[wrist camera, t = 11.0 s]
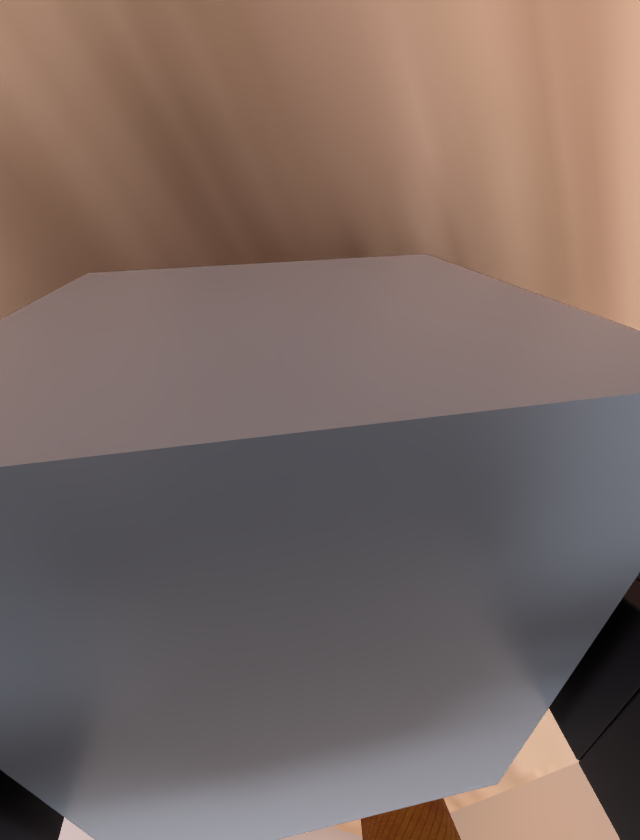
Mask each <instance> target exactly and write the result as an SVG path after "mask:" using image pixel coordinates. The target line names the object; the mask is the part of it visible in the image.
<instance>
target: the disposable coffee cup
mask: <svg viewBox="0 0 640 840" xmlns="http://www.w3.org/2000/svg"><path fill="white" fill-rule="evenodd" d="M361 825H362V836H363V840H461V839H460V836H459V834H458V832H457V830H456V827H455V825H454V822H453V820H452V818H451V816H450V813H449V811H448V808H447V806H446V804H445V801H444V799H443V798H441V799H437V800H433V801H429V802H425V803H421V804H417V805H413V806H409V807H405V808H401V809H397V810H393V811H389V812H385V813H381V814H377V815H374V816H370V817H366V818H362V819H361Z"/></svg>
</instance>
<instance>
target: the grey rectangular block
mask: <svg viewBox="0 0 640 840" xmlns="http://www.w3.org/2000/svg"><path fill="white" fill-rule="evenodd" d="M639 573H640V331H638V330H636V329H633V328H630V327H627V326H625V325H622V324H619V323H616V322H613V321H611V320H608V319H605V318H602V317H600V316H597V315H594V314H591V313H589V312H586V311H583V310H580V309H577V308H575V307H572V306H569V305H566V304H564V303H561V302H558V301H555V300H552V299H550V298H547V297H544V296H541V295H539V294H536V293H533V292H530V291H528V290H525V289H522V288H519V287H516V286H514V285H511V284H508V283H505V282H503V281H500V280H497V279H494V278H492V277H489V276H486V275H483V274H480V273H478V272H475V271H472V270H469V269H467V268H464V267H461V266H458V265H456V264H453V263H450V262H447V261H444V260H442V259H439V258H436V257H433V256H431V255H428V254H415V255H397V256H380V257H362V258H344V259H326V260H309V261H291V262H273V263H255V264H238V265H220V266H202V267H184V268H167V269H149V270H131V271H113V272H95V273H86V274H85V275H83V276H81V277H79V278H77V279H75V280H73V281H71V282H70V283H68V284H66V285H64V286H62V287H60V288H58V289H56V290H55V291H53V292H51V293H49V294H47V295H45V296H43V297H41V298H39V299H38V300H36V301H34V302H32V303H30V304H28V305H26V306H24V307H23V308H21V309H19V310H17V311H15V312H13V313H11V314H9V315H8V316H6V317H4V318H2V319H0V770H2V771H3V772H4V773H6V774H7V775H8V776H10V777H11V778H12V779H14V780H15V781H16V782H18V783H19V784H20V785H22V786H23V787H24V788H26V789H27V790H28V791H30V792H31V793H33V794H34V795H35V796H37V797H38V798H39V799H41V800H42V801H43V802H45V803H46V804H47V805H49V806H50V807H51V808H53V809H54V810H55V811H57V812H58V813H60V814H61V815H62V816H64V817H65V818H66V819H68V820H69V821H70V822H72V823H73V824H74V825H76V826H77V827H79V828H80V829H81V830H83V831H84V832H85V833H87V834H88V835H89V836H91V837H92V838H93V839H95V840H279V839H283V838H286V837H291V836H295V835H299V834H302V833H306V832H310V831H314V830H318V829H322V828H326V827H330V826H334V825H338V824H342V823H346V822H350V821H354V820H358V819H362V818H366V817H370V816H374V815H377V814H381V813H385V812H389V811H393V810H397V809H401V808H405V807H409V806H413V805H417V804H421V803H425V802H429V801H433V800H437V799H441V798H445V797H449V796H452V795H456V794H460V793H464V792H468V791H472V790H476V789H480V788H484V787H488V786H492V785H496V784H498V782H499V781H500V779H501V778H502V777H503V775H504V774H505V772H506V771H507V769H508V768H509V766H510V765H511V763H512V762H513V760H514V759H515V757H516V756H517V754H518V753H519V751H520V750H521V748H522V747H523V745H524V744H525V742H526V741H527V739H528V738H529V736H530V735H531V733H532V732H533V730H534V729H535V727H536V726H537V724H538V723H539V721H540V720H541V719H542V717H543V716H544V714H545V713H546V711H547V710H548V708H549V707H550V705H551V704H552V702H553V701H554V699H555V698H556V696H557V695H558V693H559V692H560V690H561V689H562V687H563V686H564V684H565V683H566V681H567V680H568V678H569V677H570V675H571V674H572V672H573V671H574V669H575V668H576V666H577V665H578V663H579V662H580V660H581V659H582V658H583V656H584V655H585V653H586V652H587V650H588V649H589V647H590V646H591V644H592V643H593V641H594V640H595V638H596V637H597V635H598V634H599V632H600V631H601V629H602V628H603V626H604V625H605V623H606V622H607V620H608V619H609V617H610V616H611V614H612V613H613V611H614V610H615V608H616V607H617V605H618V604H619V602H620V601H621V599H622V598H623V597H624V595H625V594H626V592H627V591H628V589H629V588H630V586H631V585H632V583H633V582H634V580H635V579H636V577H637V576H638V574H639Z"/></svg>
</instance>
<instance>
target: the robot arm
mask: <svg viewBox="0 0 640 840" xmlns="http://www.w3.org/2000/svg"><path fill="white" fill-rule="evenodd" d="M549 709H550V711H551V713H552V714H553V716H554V718H555V720H556V722H557V724H558V725H559V727H560V729H561V731H562V733H563V735H564V736H565V738H566V740H567V742H568V744H569V746H570V747H571V749H572V751H573V753H574V755H575V757H576V758H577V759H578V760H579V764H580V766H581V768H582V770H583V772H584V774H585V775H586V777H587V779H588V781H589V783H590V785H591V786H592V788H593V790H594V792H595V794H596V796H597V797H598V799H599V801H600V803H601V805H602V806H603V808H604V810H605V812H606V814H607V816H608V817H609V819H610V821H611V823H612V825H613V827H614V828H615V830H616V832H617V834H618V836H619V838H620V840H640V573H639V574H638V576H637V577H636V579H635V580H634V582H633V583H632V585H631V586H630V588H629V589H628V591H627V592H626V594H625V595H624V597H623V598H622V599H621V601H620V602H619V604H618V605H617V607H616V608H615V610H614V611H613V613H612V614H611V616H610V617H609V619H608V620H607V622H606V623H605V625H604V626H603V628H602V629H601V631H600V632H599V634H598V635H597V637H596V638H595V640H594V641H593V643H592V644H591V646H590V647H589V649H588V650H587V652H586V653H585V655H584V656H583V658H582V659H581V660H580V662H579V663H578V665H577V666H576V668H575V669H574V671H573V672H572V674H571V675H570V677H569V678H568V680H567V681H566V683H565V684H564V686H563V687H562V689H561V690H560V692H559V693H558V695H557V696H556V698H555V699H554V701H553V702H552V704H551V705H550V707H549ZM63 819H64V816H62V815H61V814H60V813H58V812H57V811H55V810H54V809H53V808H51V807H50V806H49V805H47V804H46V803H45V802H43V801H42V800H41V799H39V798H38V797H37V796H35V795H34V794H33V793H31V792H30V791H28V790H27V789H26V788H24V787H23V786H22V785H20V784H19V783H18V782H16V781H15V780H14V779H12V778H11V777H10V776H8V775H7V774H6V773H4V772H3V771H2V770H0V840H58V838H59V834H60V831H61V827H62V823H63Z"/></svg>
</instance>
